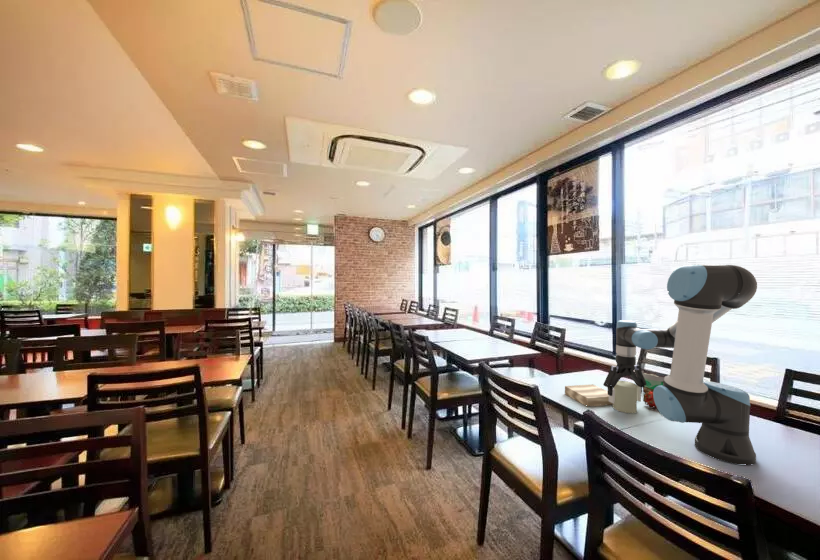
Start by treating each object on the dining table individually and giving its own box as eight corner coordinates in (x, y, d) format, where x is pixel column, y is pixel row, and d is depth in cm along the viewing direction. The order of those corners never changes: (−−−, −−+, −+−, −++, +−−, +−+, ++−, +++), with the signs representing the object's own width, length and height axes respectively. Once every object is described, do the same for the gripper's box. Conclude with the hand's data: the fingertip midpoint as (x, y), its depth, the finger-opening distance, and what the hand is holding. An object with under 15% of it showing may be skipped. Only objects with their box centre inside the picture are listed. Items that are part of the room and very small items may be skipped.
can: (629, 405, 151) (630, 379, 151) (641, 413, 142) (642, 386, 142) (608, 404, 152) (609, 379, 152) (619, 412, 143) (619, 385, 143)
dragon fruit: (639, 409, 150) (666, 414, 149) (651, 405, 143) (680, 410, 142) (635, 391, 155) (661, 395, 154) (647, 386, 148) (674, 390, 147)
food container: (634, 390, 170) (635, 371, 170) (641, 389, 173) (642, 370, 173) (661, 399, 159) (661, 378, 159) (668, 397, 162) (668, 377, 161)
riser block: (617, 404, 152) (617, 395, 152) (587, 406, 149) (587, 398, 149) (592, 392, 168) (592, 384, 168) (564, 393, 165) (565, 386, 165)
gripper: (642, 351, 152) (641, 396, 153) (595, 353, 148) (594, 399, 149) (656, 355, 145) (655, 402, 146) (608, 358, 141) (606, 406, 141)
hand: (624, 401), depth 147 cm, fingers open, 13 cm apart
